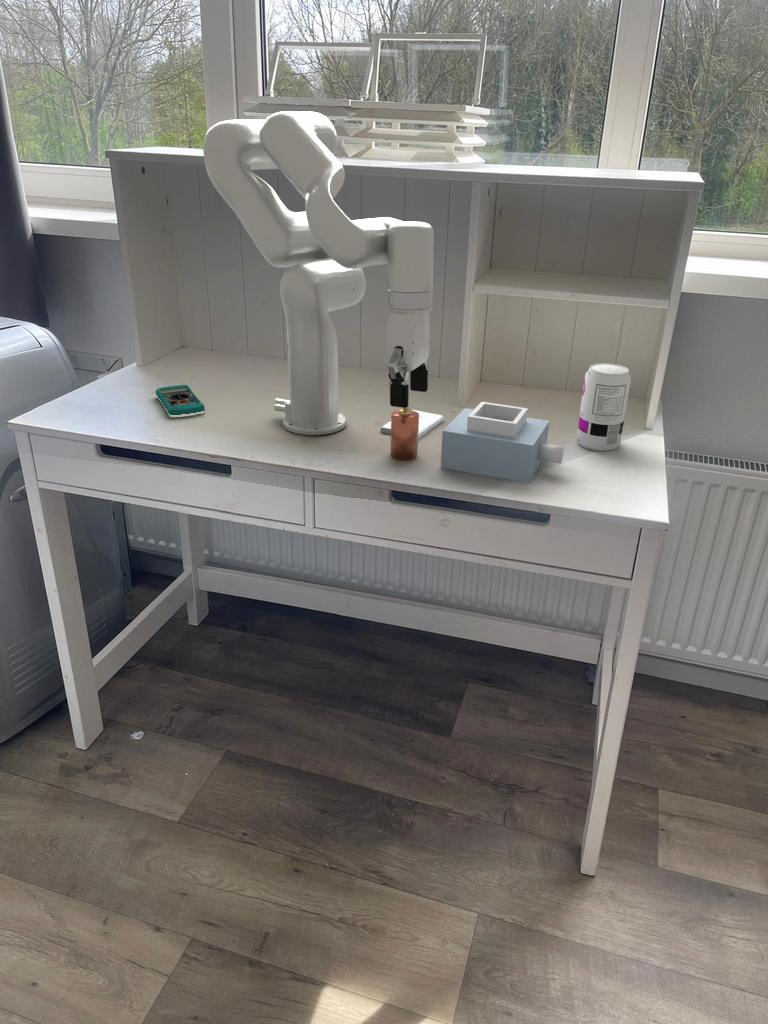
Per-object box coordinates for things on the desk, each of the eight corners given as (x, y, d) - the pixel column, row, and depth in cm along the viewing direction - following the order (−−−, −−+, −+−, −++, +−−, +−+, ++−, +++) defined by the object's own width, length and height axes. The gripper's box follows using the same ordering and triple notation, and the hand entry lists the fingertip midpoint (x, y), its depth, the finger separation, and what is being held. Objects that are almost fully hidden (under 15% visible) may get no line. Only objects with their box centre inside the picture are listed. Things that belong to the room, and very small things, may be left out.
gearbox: (440, 467, 139) (443, 417, 135) (462, 442, 150) (465, 395, 146) (552, 487, 133) (558, 435, 128) (566, 460, 143) (573, 411, 139)
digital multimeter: (170, 421, 159) (169, 407, 157) (156, 399, 171) (154, 386, 169) (206, 416, 162) (205, 403, 160) (189, 395, 174) (188, 382, 172)
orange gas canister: (386, 457, 143) (387, 406, 138) (396, 448, 147) (397, 398, 143) (411, 462, 141) (413, 411, 137) (421, 452, 145) (423, 402, 141)
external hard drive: (380, 434, 155) (407, 415, 165) (417, 442, 151) (443, 422, 161) (380, 426, 154) (408, 408, 164) (417, 434, 151) (443, 414, 160)
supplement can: (567, 443, 151) (577, 367, 144) (591, 433, 156) (601, 359, 149) (604, 455, 146) (617, 377, 139) (627, 444, 151) (640, 369, 144)
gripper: (407, 290, 140) (407, 383, 147) (369, 308, 125) (370, 410, 133) (447, 292, 137) (444, 387, 145) (412, 311, 123) (411, 415, 130)
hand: (409, 398), depth 139 cm, fingers open, 9 cm apart
